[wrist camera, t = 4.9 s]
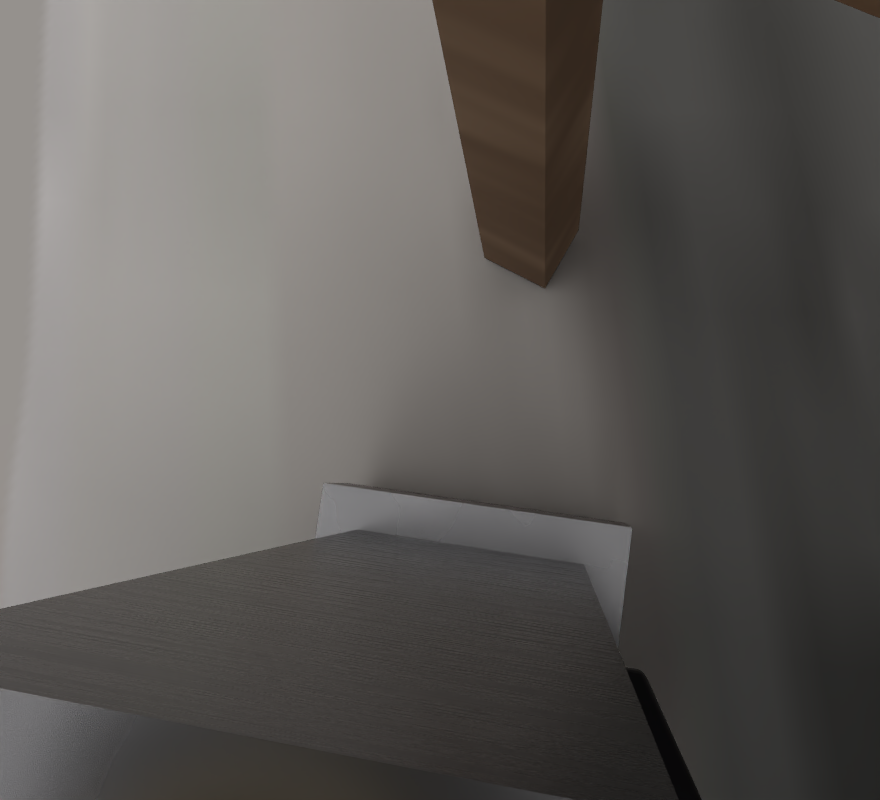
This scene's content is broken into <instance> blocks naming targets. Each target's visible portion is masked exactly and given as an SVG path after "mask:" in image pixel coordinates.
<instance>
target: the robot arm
mask: <svg viewBox="0 0 880 800" xmlns="http://www.w3.org/2000/svg"><path fill="white" fill-rule="evenodd" d="M625 668H626V670H627V673H628V675H629V678H630V680H631V682H632V685H633V687H634V690H635V692H636V695H637V697H638V700H639V702H640V705H641V707H642V710H643V712H644V715H645V717H646V720H647V722H648V725H649V727H650V730H651V732H652V735H653V737H654V740H655V742H656V745H657V747H658V750H659V752H660V755H661V757H662V760H663V762H664V765H665V767H666V770H667V772H668V774H669V777H670V779H671V782H672V784H673V787H674V789H675V792H676V794H677V797H678V799H679V800H702V799H701V797H700V795H699V793H698V790H697V788H696V786H695V784H694V781H693V779H692V777H691V775H690V773H689V770H688V768H687V766H686V764H685V762H684V759H683V757H682V755H681V753H680V750H679V748H678V746H677V744H676V742H675V739H674V737H673V735H672V733H671V731H670V728H669V726H668V724H667V722H666V719H665V717H664V715H663V713H662V711H661V708H660V706H659V704H658V702H657V700H656V697H655V695H654V693H653V691H652V688H651V686H650V684H649V682H648V680H647V678H646V676H645V675H644V673H643V672H642V671H640V670H638V669H634V668H628V667H625Z"/></svg>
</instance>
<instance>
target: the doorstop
mask: <svg viewBox="0 0 880 800" xmlns="http://www.w3.org/2000/svg"><path fill="white" fill-rule="evenodd" d="M631 534H632V527H630V526H628V525H626V524H624V523H621V522H614V521H607V520H600V519H593V518H586V517H579V516H572V515H565V514H558V513H551V512H544V511H537V510H531V509H524V508H517V507H510V506H503V505H496V504H489V503H482V502H475V501H468V500H461V499H454V498H447V497H440V496H433V495H426V494H419V493H412V492H405V491H398V490H391V489H385V488H378V487H371V486H364V485H357V484H350V483H323V490H322V496H321V503H320V510H319V516H318V523H317V530H316V536H315V539H312V540H307V541H303V542H298V543H294V544H289V545H285V546H280V547H276V548H271V549H267V550H263V551H258V552H254V553H249V554H245V555H240V556H236V557H231V558H227V559H222V560H218V561H213V562H209V563H204V564H200V565H195V566H191V567H186V568H182V569H177V570H173V571H168V572H164V573H159V574H155V575H150V576H146V577H141V578H137V579H132V580H128V581H124V582H119V583H115V584H110V585H106V586H101V587H97V588H92V589H88V590H83V591H79V592H74V593H70V594H65V595H61V596H56V597H52V598H47V599H43V600H38V601H34V602H29V603H25V604H20V605H16V606H11V607H7V608H2V609H0V800H679V799H678V797H677V794H676V792H675V789H674V787H673V784H672V782H671V779H670V777H669V774H668V772H667V770H666V767H665V765H664V762H663V760H662V757H661V755H660V752H659V750H658V747H657V745H656V742H655V740H654V737H653V735H652V732H651V730H650V727H649V725H648V722H647V720H646V717H645V715H644V712H643V710H642V707H641V705H640V702H639V700H638V697H637V695H636V692H635V690H634V687H633V685H632V682H631V680H630V678H629V675H628V673H627V670H626V668H625V665H624V663H623V660H622V658H621V655H620V653H619V650H618V645H619V636H620V628H621V619H622V611H623V602H624V594H625V585H626V577H627V568H628V560H629V551H630V543H631Z"/></svg>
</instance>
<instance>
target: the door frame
mask: <svg viewBox="0 0 880 800" xmlns="http://www.w3.org/2000/svg"><path fill="white" fill-rule="evenodd" d="M432 1H433V6H434V11H435V16H436V20H437V25H438V30H439V35H440V40H441V45H442V50H443V55H444V60H445V65H446V70H447V75H448V80H449V85H450V89H451V94H452V99H453V104H454V109H455V114H456V119H457V124H458V129H459V134H460V139H461V144H462V149H463V154H464V158H465V163H466V168H467V173H468V178H469V183H470V188H471V193H472V198H473V203H474V208H475V213H476V218H477V223H478V227H479V232H480V237H481V242H482V247H483V252H484V257H485V258H486V259H488V260H490V261H492V262H494V263H496V264H498V265H500V266H502V267H504V268H506V269H508V270H510V271H512V272H514V273H516V274H518V275H520V276H522V277H524V278H526V279H528V280H530V281H532V282H534V283H535V284H537V285H539V286H541V287H543V288H545V287H546V286H547V284H548V282H549V280H550V279H551V277H552V275H553V273H554V272H555V270H556V268H557V266H558V265H559V263H560V261H561V260H562V258H563V256H564V254H565V253H566V251H567V249H568V247H569V246H570V244H571V242H572V240H573V239H574V237H575V235H576V233H577V232H578V230H579V221H580V211H581V202H582V193H583V183H584V174H585V164H586V155H587V146H588V136H589V127H590V117H591V108H592V98H593V89H594V80H595V70H596V61H597V51H598V42H599V33H600V23H601V14H602V4H603V0H432ZM836 1H838V2H841V3H843V4H846V5H848V6H851V7H853V8H856V9H858V10H861V11H863V12H866V13H868V14H871V15H873V16H876V17H878V18H880V0H836Z"/></svg>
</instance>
